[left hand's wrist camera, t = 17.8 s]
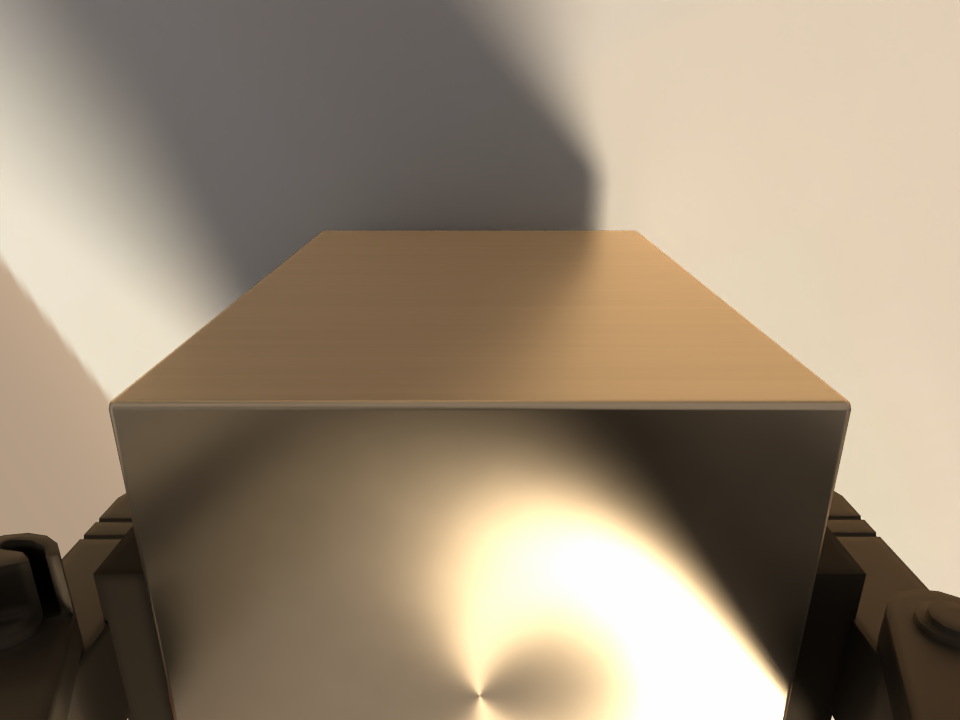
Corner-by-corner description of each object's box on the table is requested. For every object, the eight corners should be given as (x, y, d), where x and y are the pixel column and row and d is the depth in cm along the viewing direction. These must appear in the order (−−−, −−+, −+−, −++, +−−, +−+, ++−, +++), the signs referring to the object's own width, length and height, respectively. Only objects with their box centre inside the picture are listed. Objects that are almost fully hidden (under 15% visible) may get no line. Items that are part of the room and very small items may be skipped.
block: (614, 507, 18) (748, 905, 9) (344, 507, 18) (210, 905, 9) (637, 230, 15) (856, 403, 6) (321, 230, 15) (103, 403, 6)
